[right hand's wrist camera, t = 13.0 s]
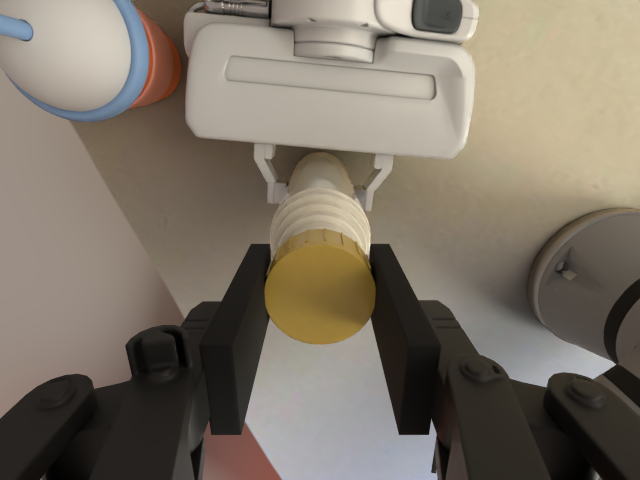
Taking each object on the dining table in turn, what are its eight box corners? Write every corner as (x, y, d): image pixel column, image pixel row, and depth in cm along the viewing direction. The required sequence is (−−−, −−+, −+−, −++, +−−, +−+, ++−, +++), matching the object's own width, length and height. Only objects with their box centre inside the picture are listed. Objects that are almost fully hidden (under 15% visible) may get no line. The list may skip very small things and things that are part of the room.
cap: (317, 205, 13) (317, 218, 12) (392, 273, 14) (402, 295, 13) (247, 277, 15) (238, 299, 13) (322, 336, 16) (323, 364, 14)
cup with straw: (72, 57, 31) (-231, -7, 14) (139, -24, 29) (-119, -216, 12) (153, 139, 33) (-21, 170, 16) (220, 69, 31) (102, 21, 14)
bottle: (318, 139, 33) (316, 191, 12) (358, 178, 35) (422, 289, 13) (281, 181, 35) (218, 295, 13) (321, 217, 36) (323, 374, 14)
